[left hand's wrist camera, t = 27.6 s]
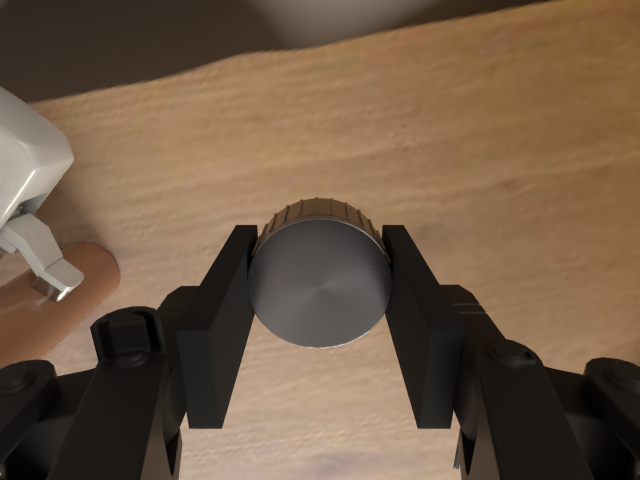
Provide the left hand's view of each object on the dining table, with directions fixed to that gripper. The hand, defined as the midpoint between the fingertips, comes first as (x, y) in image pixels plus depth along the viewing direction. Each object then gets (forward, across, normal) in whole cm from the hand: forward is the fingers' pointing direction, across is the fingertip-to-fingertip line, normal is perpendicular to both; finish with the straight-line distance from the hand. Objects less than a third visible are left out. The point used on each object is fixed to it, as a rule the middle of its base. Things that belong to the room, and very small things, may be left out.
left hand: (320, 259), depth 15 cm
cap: (-2, 0, 0) cm, 2 cm away
